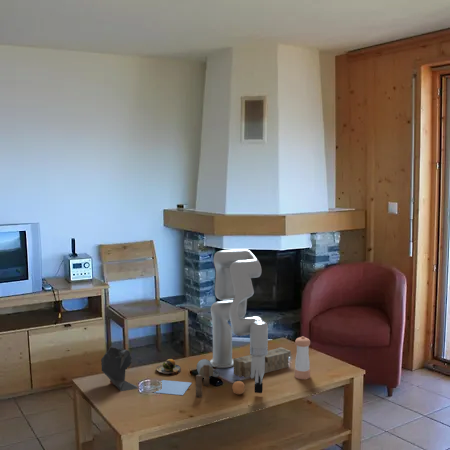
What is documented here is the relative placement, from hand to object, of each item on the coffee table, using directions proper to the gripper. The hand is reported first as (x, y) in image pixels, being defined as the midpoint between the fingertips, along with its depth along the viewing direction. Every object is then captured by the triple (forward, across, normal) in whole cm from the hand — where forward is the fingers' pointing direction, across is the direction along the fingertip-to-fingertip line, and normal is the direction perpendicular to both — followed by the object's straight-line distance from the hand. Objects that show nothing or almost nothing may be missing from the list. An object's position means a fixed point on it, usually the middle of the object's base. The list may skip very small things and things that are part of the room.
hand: (258, 392), depth 239 cm
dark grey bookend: (+2, +2, -63) cm, 63 cm away
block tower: (+2, -30, -3) cm, 31 cm away
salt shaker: (+2, -26, +17) cm, 31 cm away
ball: (-1, 0, -9) cm, 9 cm away
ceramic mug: (+2, -17, -26) cm, 31 cm away
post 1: (+2, +6, -25) cm, 25 cm away
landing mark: (+2, 0, -39) cm, 39 cm away
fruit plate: (+2, -20, -46) cm, 50 cm away
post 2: (+2, -7, -25) cm, 26 cm away
